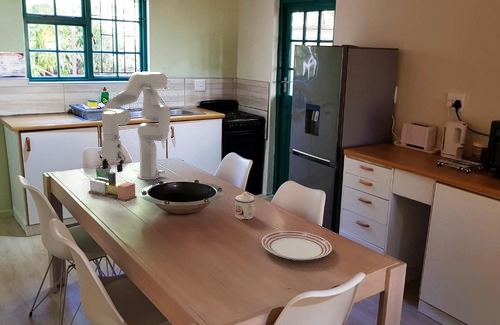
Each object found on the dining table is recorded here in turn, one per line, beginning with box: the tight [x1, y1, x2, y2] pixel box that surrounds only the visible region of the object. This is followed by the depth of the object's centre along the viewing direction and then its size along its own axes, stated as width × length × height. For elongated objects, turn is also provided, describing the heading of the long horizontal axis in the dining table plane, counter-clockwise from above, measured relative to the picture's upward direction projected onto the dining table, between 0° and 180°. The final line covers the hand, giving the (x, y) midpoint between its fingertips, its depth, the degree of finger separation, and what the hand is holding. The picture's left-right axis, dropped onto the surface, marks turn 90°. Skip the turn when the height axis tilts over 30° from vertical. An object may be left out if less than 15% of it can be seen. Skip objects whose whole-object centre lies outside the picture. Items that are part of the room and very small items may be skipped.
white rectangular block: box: [89, 176, 109, 194], centre depth 241 cm, size 10×6×6 cm, turn 62°
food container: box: [95, 162, 112, 179], centre depth 258 cm, size 12×6×10 cm, turn 179°
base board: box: [87, 190, 138, 203], centre depth 239 cm, size 25×8×1 cm, turn 62°
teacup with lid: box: [234, 191, 256, 220], centre depth 215 cm, size 12×9×12 cm
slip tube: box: [105, 171, 121, 195], centre depth 236 cm, size 14×4×10 cm, turn 62°
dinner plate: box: [261, 230, 333, 261], centre depth 184 cm, size 28×27×3 cm
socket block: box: [118, 181, 136, 200], centre depth 234 cm, size 5×7×6 cm
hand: (112, 170), depth 237 cm, fingers open, 9 cm apart
